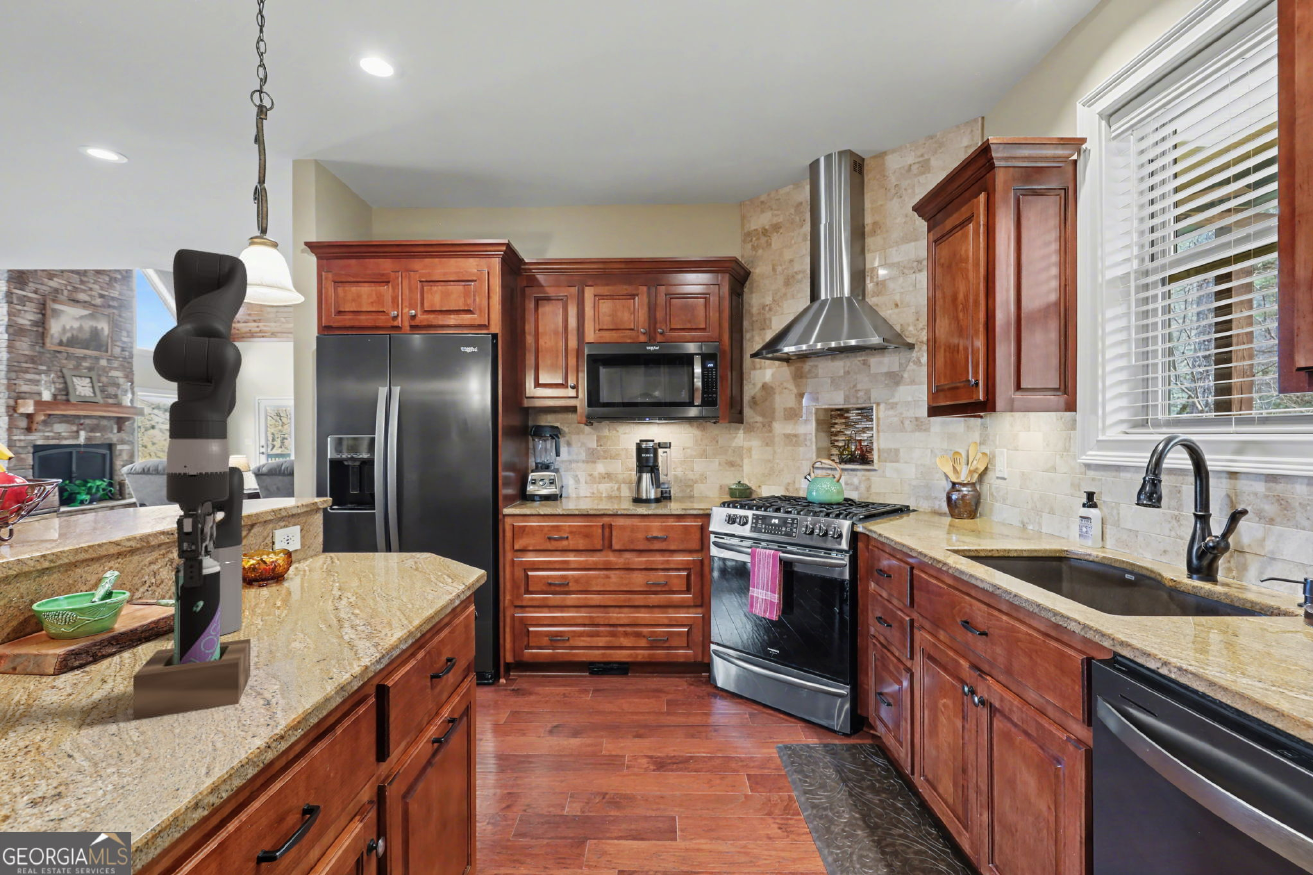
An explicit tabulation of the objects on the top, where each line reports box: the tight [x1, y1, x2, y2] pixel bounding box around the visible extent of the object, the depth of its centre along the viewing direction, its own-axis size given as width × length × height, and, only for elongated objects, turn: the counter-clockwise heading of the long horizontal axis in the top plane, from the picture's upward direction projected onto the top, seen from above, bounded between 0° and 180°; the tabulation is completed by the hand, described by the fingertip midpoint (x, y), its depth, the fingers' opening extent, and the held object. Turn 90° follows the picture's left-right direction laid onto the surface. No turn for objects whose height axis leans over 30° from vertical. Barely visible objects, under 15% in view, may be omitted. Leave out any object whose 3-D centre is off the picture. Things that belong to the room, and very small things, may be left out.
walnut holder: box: [132, 638, 251, 721], centre depth 92 cm, size 12×12×6 cm
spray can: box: [173, 548, 221, 665], centre depth 92 cm, size 6×6×20 cm
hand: (197, 581), depth 92 cm, fingers closed on spray can, 5 cm apart
